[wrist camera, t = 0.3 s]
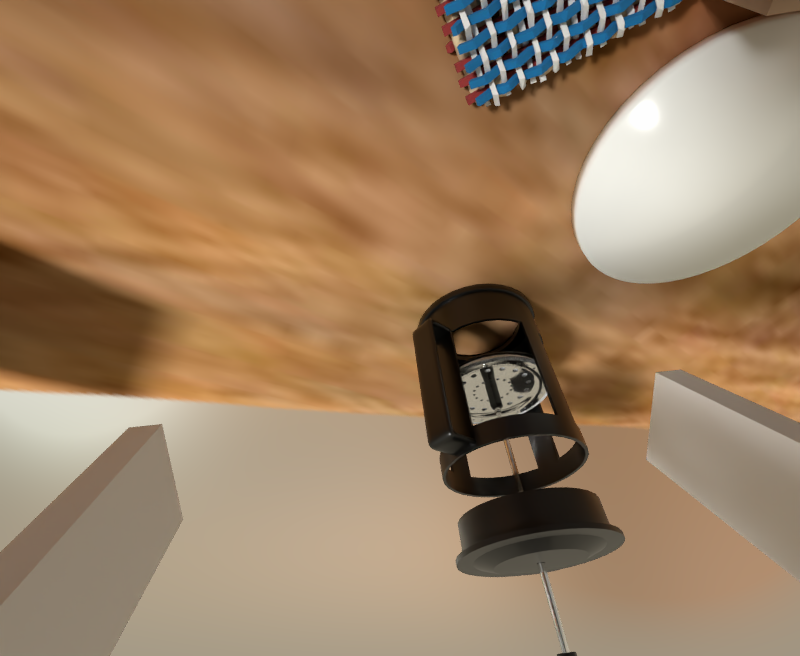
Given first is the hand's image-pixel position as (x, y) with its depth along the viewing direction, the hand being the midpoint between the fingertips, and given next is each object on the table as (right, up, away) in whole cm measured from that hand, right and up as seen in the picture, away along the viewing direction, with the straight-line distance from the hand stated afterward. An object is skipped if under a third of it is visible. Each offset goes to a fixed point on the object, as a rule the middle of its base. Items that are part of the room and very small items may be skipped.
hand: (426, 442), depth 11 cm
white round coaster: (+18, +12, +14) cm, 26 cm away
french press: (+5, +3, +23) cm, 23 cm away
